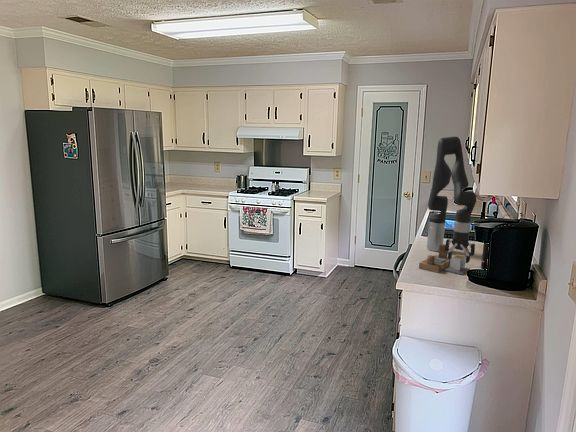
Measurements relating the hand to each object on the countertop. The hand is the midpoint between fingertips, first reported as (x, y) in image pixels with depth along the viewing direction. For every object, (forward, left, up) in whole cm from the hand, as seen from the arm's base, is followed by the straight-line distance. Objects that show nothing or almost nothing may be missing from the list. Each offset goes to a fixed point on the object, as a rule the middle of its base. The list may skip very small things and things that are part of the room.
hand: (458, 260), depth 221 cm
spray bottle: (-13, +13, -5) cm, 19 cm away
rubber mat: (0, 0, -5) cm, 5 cm away
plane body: (0, -11, -5) cm, 12 cm away
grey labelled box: (0, 0, -4) cm, 4 cm away
